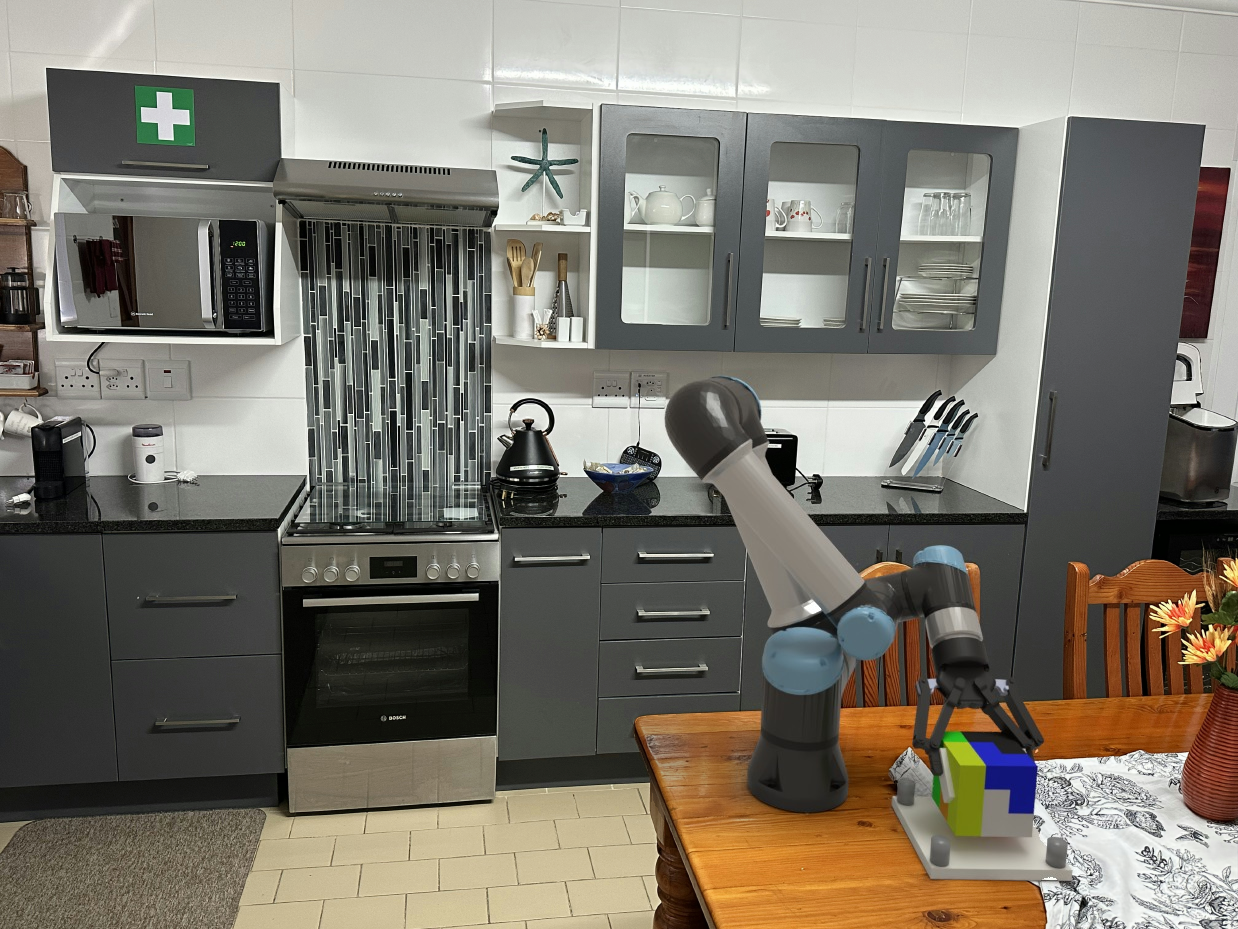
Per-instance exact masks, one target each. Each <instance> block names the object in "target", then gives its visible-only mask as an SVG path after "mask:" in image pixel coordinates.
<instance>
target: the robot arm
mask: <svg viewBox="0 0 1238 929" xmlns="http://www.w3.org/2000/svg"><path fill="white" fill-rule="evenodd" d="M664 411H665V412H664V427H665V431H666V434H667V436H668V439H669V441H670V442H671V444H672V446H673V447H674V449H675V450H676V451H677V453H678V454H679V456H680V457H681V458H682V459H683V460H684V462H685V463H686V464H687V465H688V467H689V468H690V469H691V471H692V472H694V474H695V475H696V476H697V477H698V478H699V480H701V482H702V483H704V484H705V483H706V484H712V485H714V486H715V487H716V489H717V490H718V491H719V492H720V494H722V496H723V497H724V499H725V501H726V504H727V506H728V508H729V511H730V513H731V516H732V518H733V520H734V524H735V525H736V528H737V529H738V530H737V531H738V533H739V535H740V538H741V541H742V542H743V544H744V547H745V550H746V552H747V554H748V556H749V559H750V561H751V563H752V566H753V568H754V571H755V573H756V576H757V578H758V580H759V583H760V585H761V587H762V590H763V593H764V595H765V598H766V600H767V603H768V604H769V607H770V610H771V613H770V616H769V618H768V619H767V620H768V621H767V627H768V629H769V632H770V634H771V636H770V637H769V638H768V639H767V641H766V643H765V645H764V649H763V654H762V658H761V669H762V674H761V675H762V678H761V679H762V681H761V706H760V707H761V708H760V710H761V711H760V731H759V732H760V734H759V738H758V740H757V743H756V745H755V748H754V750H753V753H752V755H751V758H750V761H749V763H748V765H747V772H746V774H747V776H746V785H747V788H748V790H749V791H750V793H751V795H753V796H755V798H757V800H760V801H761V802H763V803H765V804H767V805H769V806H772V807H774V808H777V809H781V810H786V811H789V812H790V811H791V812H797V813H818V812H825V811H828V810H832V809H835V808H837V807H838V806H840V805H842V804H843V803H844V802H845V801H846V799H847V798H848V796H849V775H848V771H847V768H846V767H847V766H846V763H845V761H844V757H843V754H842V751H841V750H842V749H841V748H840V743H839V742H840V741H839V740H840V739H839V738H840V726H841V722H840V721H841V706H842V705H841V704H842V698H843V693H844V692H845V688H846V686H847V684H848V682H849V680H850V678H851V676H852V674H853V672H854V670H855V669H856V666H857V664H858V661H859V660H860V661H873V660H875V659H878V658H880V657H882V656H883V655H884V654H886V652H887V651H888V650H889V648H890V646H891V645H892V644H893V643H894V640H895V638H896V631H897V628H898V626H899V624H900V623H901V622H906V621H910V620H915V619H919V618H923V617H924V619H923V620H924V623H925V627H926V632H927V633H926V634H927V637H928V642H929V646H930V648H931V650H930V653H931V659H932V665H933V669H934V674H935V677H934V678H927V676H924V675H923V676H920V677H919V678H918V680H917V681H916V683H915V685H914V687H915V691H916V696H917V701H916V702H917V703H916V710H915V717H914V718H915V719H914V727H913V734H912V740H911V742H912V743H911V744H912V747H913V749H916V750H917V749H918V750H919V749H920V750H922V751H924V753H925V755H927V757H928V762H929V767H930V772H931V774H932V777H933V776H939V779H940V784H941V790H942V795H943V800H944V803H950V802H951V801H952V800H953V799H954V798H955V793H954V788H953V783H952V777H951V772H950V767H949V762H948V756H947V751H946V748H940V749H939V745H940V743H941V740H942V738H943V735H944V733H945V731H947V727H948V726H949V722H950V720H951V719H952V715H953V713H954V711H955V708H956V709H957V710H963V709H968V708H969V709H972V710H979V709H980V710H981V712H982V713H983V714H984V715H985V716H988V718H990V719H991V721H992V722H993V724H995V726H996V727H997V728H998V729H999V731H1000V732H1002V733H1004V734H1006V735H1008V736H1009V737H1011V738H1013V739H1015V741H1016V742H1017V743H1018V744H1019V745H1020V746H1021V747H1022V749H1023V750H1024V751H1025V752H1026V753H1027V754H1028V755H1029V757H1030V758H1031V759H1032V760H1033V761H1034V762H1035V763H1036V761H1035V756H1034V753H1033V751H1036V750H1037V749H1039V748H1040V747H1041V746H1042V745H1043V744H1044V743H1045V738H1044V736H1043V734H1042V733H1041V731H1040V729H1039V727H1038V726H1037V724H1036V722H1035V720H1034V718H1033V717H1032V715H1031V713H1030V711H1029V709H1028V708H1027V706H1026V705H1025V703H1024V700H1023V699H1022V697H1021V695H1020V694H1019V691H1018V686H1017V681H1016V678H1015V677H1012V676H1009V677H1008V678H1007V679H999V678H998V679H996V678H995V676H994V675H992V673H991V670H990V663H989V659H988V658H989V657H988V654H987V650H986V646H985V643H984V642H983V640H984V636H983V633H982V630H981V629H982V628H981V625H980V621H979V617H978V614H977V613H978V612H977V608H976V604H975V600H974V594H973V590H972V585H971V580H970V576H969V573H968V569H967V567H966V564H965V560H964V557H963V554H962V553H961V552H960V551H959V549H957V548H955V547H953V546H950V545H945V544H944V545H940V544H939V545H932V546H927V547H925V548H923V550H919V551H918V552H916V554H915V555H914V556H913V560H912V561H913V565H912V567H911V568H907V569H905V570H901V571H898V572H893V573H889V574H884V575H880V576H876V577H871V578H867V579H863V577H862V576H861V575H860V573H859V572H857V570H856V569H855V568H854V567H853V566H852V564H850V562H848V560H847V558H846V557H844V555H843V554H842V553H841V552H840V550H838V549H837V547H836V546H835V545H834V544H833V542H832V541H831V540H830V539H829V538H828V537H827V535H825V534H824V532H823V531H822V530H821V528H819V527H818V525H817V524H816V523H815V522H814V521H813V520H812V518H811V517H810V516H809V515H808V513H807V512H806V511H805V510H804V509H803V507H801V506H800V504H799V503H798V502H797V500H795V499H794V498H793V496H792V495H791V494H790V493H789V492H788V491H787V490H786V488H785V487H784V486H783V485H782V483H780V481H779V480H778V479H777V478H776V476H774V475H773V472H772V470H771V468H770V466H769V464H768V461H767V459H766V452H767V450H768V447H769V445H770V441H769V438H768V436H767V434H766V432H765V429H764V427H763V425H762V422H761V421H762V404H761V401H760V399H759V397H758V395H757V393H756V392H755V390H754V389H753V388H752V387H751V386H750V385H749V384H747V383H746V382H745V381H744V380H741V379H739V378H737V377H732V376H729V375H714V376H711V377H708V378H704V379H701V380H694V381H691V382H688V383H686V384H684V385H682V386H681V387H679V388H678V389H677V390H676V391H675V392H674V393H673V394H672V396H670V398H669V400H668V402H667V404H666V408H665V410H664ZM935 689H936V690H937V691H938V692H939V693H940V695H941V696H942V697H944V702H943V704H942V707H941V709H940V712H939V715H938V718H937V720H936V722H935V725H934V727H933V730H932V732H931V735H930V737H929V738H928V737H927V730H928V722H929V714H930V706H931V698H932V696H931V695H932V694H933V693H934V690H935ZM995 689H996V690H997V691H998V692H999V695H1000V696H1002V697H1003V700H1004V702H1005V704H1006V706H1007V708H1008V711H1009V712H1010V714H1011V716H1012V718H1011V716H1010V715H1009V714H1008V713H1007V711H1005V709H1004V708H1003V707H1002V706H1001V704H1000V701H999V699H998V698H997V697H996V696H995V694H994V693H993V692H994V690H995ZM1013 719H1014V720H1013ZM1036 799H1038V795H1037V793H1036V795H1035V800H1036Z"/></svg>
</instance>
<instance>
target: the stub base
mask: <svg viewBox="0 0 1238 929" xmlns="http://www.w3.org/2000/svg"><path fill="white" fill-rule="evenodd" d="M897 780H898V781H897V792H896V793H897V794H896V795H892V797H891V807H892V809H893V810H894V813H895V815H896V817H897V819H898V820H899V822H900V824H901V827H903V830H904V832H905V833H906V835H907V837H908V838H909V839H908V840H910V843H911V845H912V847H913V848H914V850H915V852H916V854H917V856H918V858H919V860H920V861H921V864H922V865H923V867H924V869H925V871H926V872H927V875H928V876H929V878H930V879H931V880H969V881H971V880H973V881H974V880H975V881H976V880H978V881H982V880H986V881H990V880H991V881H1039V882H1040V881H1041V880H1042V879H1044V878H1048V877H1049V878H1050V877H1053V878H1056V879H1057V880H1058V882H1059V881H1060V882H1063V881H1064V882H1072V879H1073V869H1072V867H1070V865H1069V864H1068V863H1067V856H1068V846H1069V843H1068V842H1067V840H1065V839H1064V838H1061V837H1058V836H1049V837H1047V847H1046V845H1044V843H1043V842H1042V841H1041V840H1040V837H1039V832H1038V829H1036V828H1035V827H1033V830H1032V837H976V836H955V835H954V833H953V831H952V830H951V828H950V826H949V825H948V823H947V821H946V820H945V818H944V816H943V815H942V813H941V811H940V810H939V808H938V806H937V805H936V803H935V801H934V800H933V798H932V796H922V795H921V796H918V795H917V796H916V795H915V794H916V782H915V781H914V780H913V779H910V778H907V777H905V778H904V777H902V778H899V779H897Z"/></svg>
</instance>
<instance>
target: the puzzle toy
mask: <svg viewBox="0 0 1238 929" xmlns="http://www.w3.org/2000/svg"><path fill="white" fill-rule="evenodd" d="M940 748H946V751H947V756H948V762H949V767H950V772H951V777H952V783H953V788H954V793H955V798H954V799H953V800H952V801H951V802H950V803H944V800H943V795H942V790H941V784H940V779H939V776H933V775H932V788H931V797H932V798H933V800H934V801H935V803H936V805H937V806H938V808H939V810H940V811H941V813H942V815H943V816H944V818H945V820H946V821H947V823H948V825H949V826H950V828H951V830H952V831H953V833H954V835H955V836H976V837H1032V830H1033V821H1034V815H1035V807H1036V806H1035V804H1036V799H1035V795H1036V794H1037V782H1038V781H1037V780H1038V772H1039V771H1038V769H1039V766H1038V764H1036V761H1035V762H1034V761H1033V760H1032V759H1031V758H1030V757H1029V755H1028V754H1027V753H1026V752H1025V751H1024V750H1023V749H1022V747H1021V746H1020V745H1019V744H1018V743H1017V742H1016V741H1015V739H1013V738H1011V737H1009V736H1008V735H1006V734H1004V733H1002V732H1001V731H979V730H978V731H972V730H971V731H966V730H965V731H963V730H959V731H958V730H957V731H956V730H955V731H954V730H945V733H944V735H943V738H942V740H941V743H940V745H939V749H940Z"/></svg>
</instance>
